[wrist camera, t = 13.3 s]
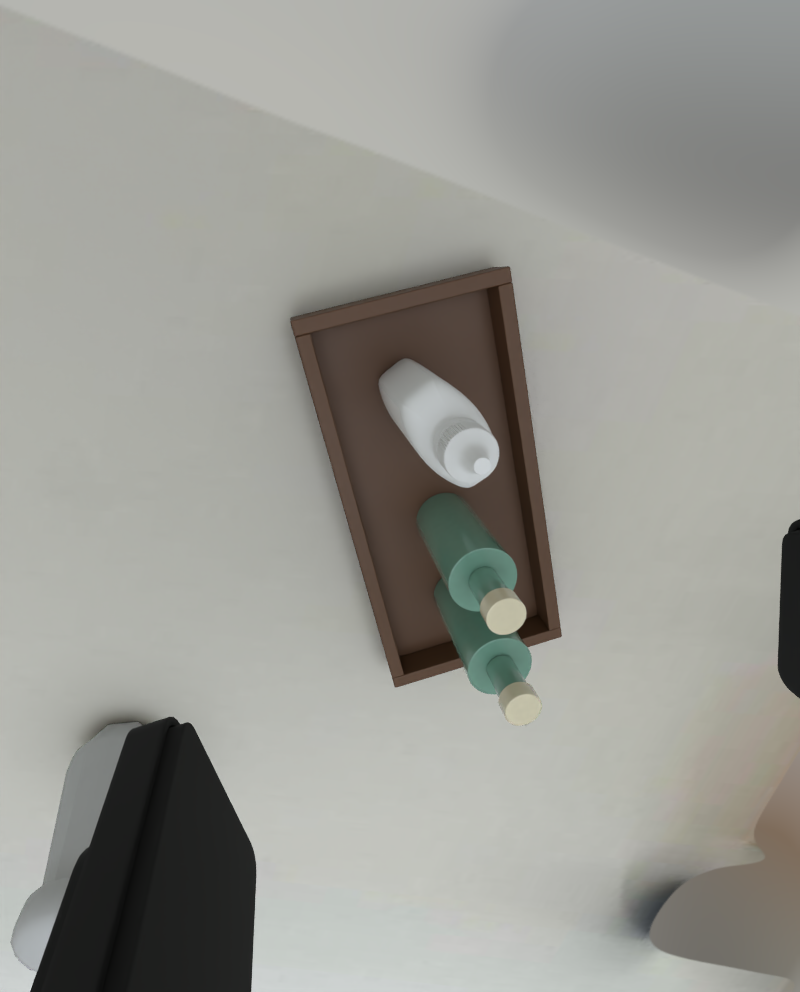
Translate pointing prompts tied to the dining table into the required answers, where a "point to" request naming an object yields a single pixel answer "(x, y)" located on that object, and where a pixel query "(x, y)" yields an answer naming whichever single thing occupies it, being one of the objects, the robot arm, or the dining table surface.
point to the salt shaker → (69, 837)
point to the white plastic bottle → (439, 423)
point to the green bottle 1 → (471, 561)
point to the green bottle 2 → (490, 659)
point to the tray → (403, 473)
